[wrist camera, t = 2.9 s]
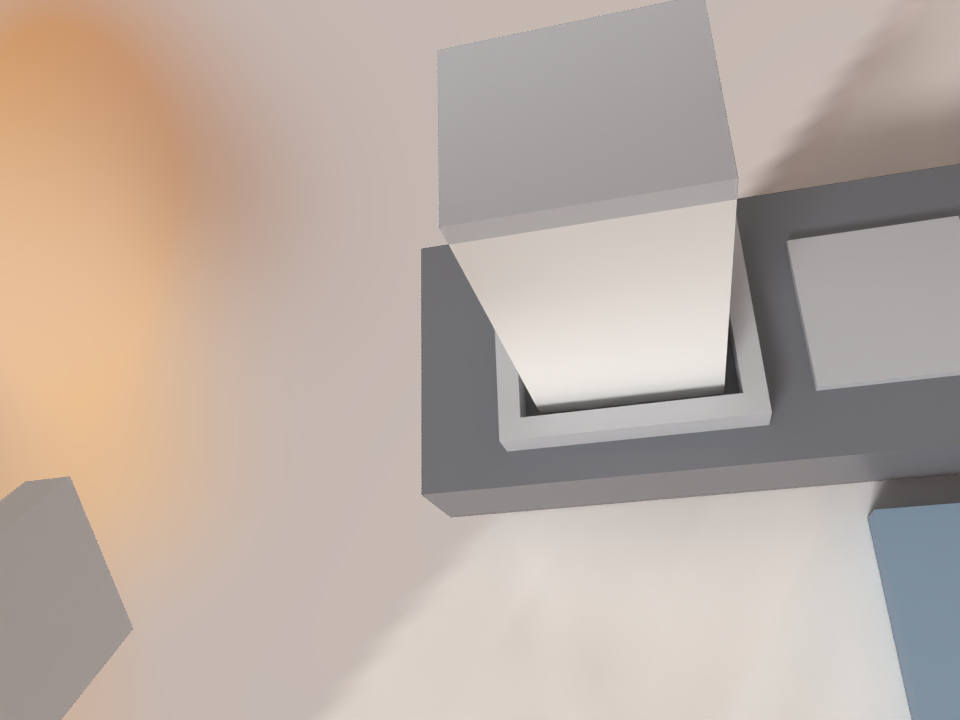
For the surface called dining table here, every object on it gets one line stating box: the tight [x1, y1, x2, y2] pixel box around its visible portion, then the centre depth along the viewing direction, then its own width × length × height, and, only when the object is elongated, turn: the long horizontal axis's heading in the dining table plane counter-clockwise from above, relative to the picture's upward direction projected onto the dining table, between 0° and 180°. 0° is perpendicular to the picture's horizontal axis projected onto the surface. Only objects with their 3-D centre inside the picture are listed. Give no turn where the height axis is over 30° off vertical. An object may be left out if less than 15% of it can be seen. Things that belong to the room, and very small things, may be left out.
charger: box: [437, 0, 738, 414], centre depth 19 cm, size 5×4×10 cm
